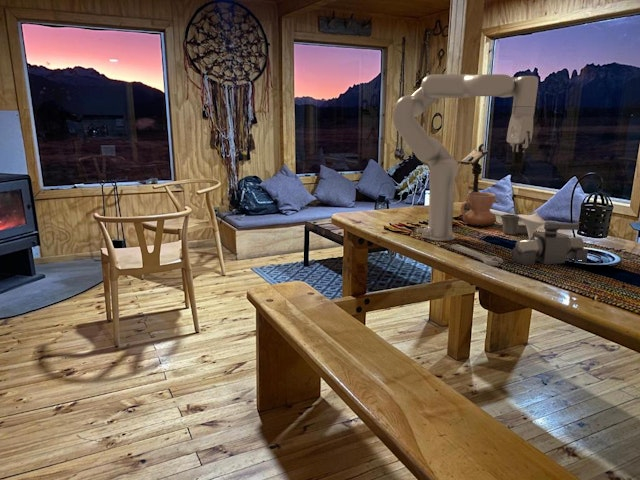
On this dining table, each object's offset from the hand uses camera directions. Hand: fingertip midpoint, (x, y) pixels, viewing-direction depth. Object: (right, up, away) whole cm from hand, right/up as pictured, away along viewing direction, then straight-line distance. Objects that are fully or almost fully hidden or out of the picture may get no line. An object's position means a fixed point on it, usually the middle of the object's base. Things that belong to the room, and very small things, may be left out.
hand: (516, 162), depth 179 cm
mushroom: (+9, -30, +10) cm, 33 cm away
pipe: (+9, -27, +22) cm, 36 cm away
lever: (+11, -25, -18) cm, 33 cm away
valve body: (+5, -36, -14) cm, 39 cm away
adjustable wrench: (-17, -35, -7) cm, 39 cm away
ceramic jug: (-1, -22, +40) cm, 46 cm away
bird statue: (+4, -15, +66) cm, 68 cm away
